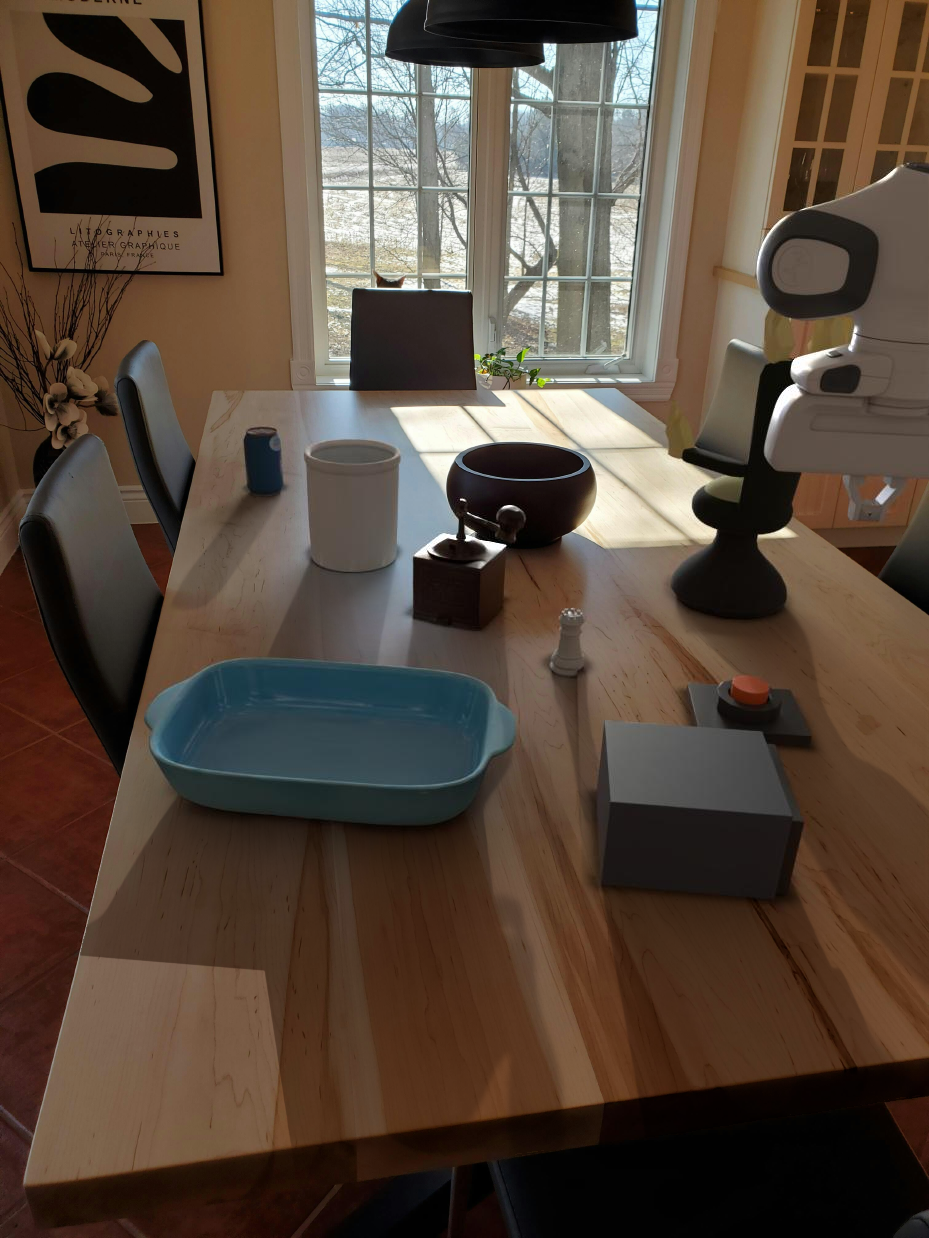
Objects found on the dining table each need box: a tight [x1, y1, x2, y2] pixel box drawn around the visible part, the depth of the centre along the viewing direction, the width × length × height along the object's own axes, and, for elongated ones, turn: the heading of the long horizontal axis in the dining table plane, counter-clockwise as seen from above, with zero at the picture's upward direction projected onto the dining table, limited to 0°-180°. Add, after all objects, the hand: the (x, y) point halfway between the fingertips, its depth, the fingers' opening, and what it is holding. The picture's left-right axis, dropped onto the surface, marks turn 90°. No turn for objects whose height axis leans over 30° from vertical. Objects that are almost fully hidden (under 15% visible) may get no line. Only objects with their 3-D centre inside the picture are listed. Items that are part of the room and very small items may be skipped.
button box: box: [685, 679, 813, 748], centre depth 102 cm, size 12×10×4 cm
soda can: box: [242, 426, 285, 497], centre depth 171 cm, size 7×7×12 cm
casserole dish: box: [143, 657, 517, 826], centre depth 91 cm, size 37×22×7 cm, turn 85°
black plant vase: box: [664, 307, 854, 619], centre depth 123 cm, size 19×22×45 cm
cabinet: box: [595, 719, 793, 901], centre depth 81 cm, size 15×13×10 cm
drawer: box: [767, 744, 805, 896], centre depth 80 cm, size 15×11×8 cm
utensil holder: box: [303, 438, 402, 573], centre depth 141 cm, size 15×15×18 cm
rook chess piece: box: [549, 607, 586, 678], centre depth 111 cm, size 4×4×8 cm
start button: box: [730, 675, 771, 705], centre depth 101 cm, size 4×4×2 cm
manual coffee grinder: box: [412, 498, 527, 631], centre depth 123 cm, size 16×11×18 cm
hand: (865, 520), depth 85 cm, fingers closed
